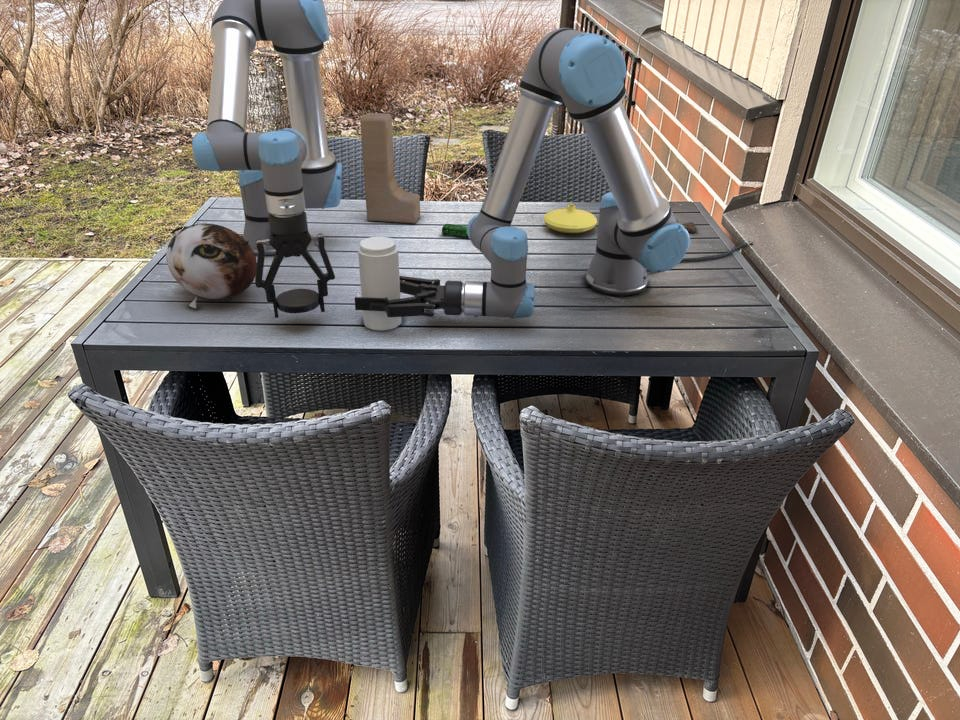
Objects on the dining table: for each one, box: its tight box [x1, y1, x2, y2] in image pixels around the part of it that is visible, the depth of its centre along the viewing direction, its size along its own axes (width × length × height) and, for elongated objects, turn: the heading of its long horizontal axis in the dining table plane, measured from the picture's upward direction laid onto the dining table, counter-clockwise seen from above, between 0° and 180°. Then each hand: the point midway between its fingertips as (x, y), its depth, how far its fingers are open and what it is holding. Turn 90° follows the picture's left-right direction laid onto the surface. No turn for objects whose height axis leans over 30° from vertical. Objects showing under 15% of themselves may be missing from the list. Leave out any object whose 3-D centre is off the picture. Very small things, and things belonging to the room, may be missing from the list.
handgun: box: [441, 223, 469, 238], centre depth 207 cm, size 16×3×15 cm
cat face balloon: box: [165, 222, 257, 309], centre depth 165 cm, size 22×18×20 cm
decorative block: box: [359, 112, 421, 224], centre depth 209 cm, size 8×15×30 cm, turn 82°
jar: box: [357, 236, 403, 331], centre depth 155 cm, size 8×8×19 cm
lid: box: [276, 288, 320, 314], centre depth 154 cm, size 9×9×2 cm
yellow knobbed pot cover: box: [543, 203, 598, 234], centre depth 209 cm, size 16×16×7 cm
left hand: (299, 312), depth 155 cm, fingers closed on lid, 9 cm apart
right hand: (359, 294), depth 156 cm, fingers closed on jar, 8 cm apart
